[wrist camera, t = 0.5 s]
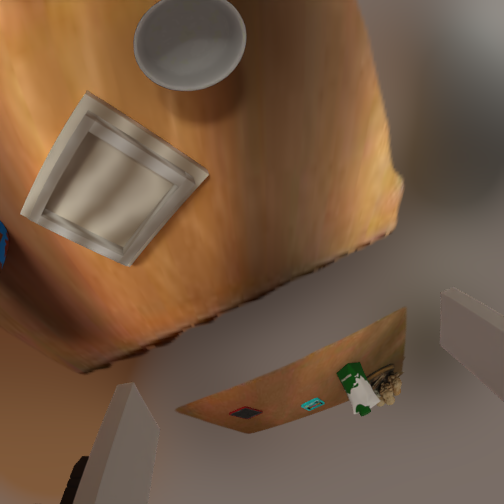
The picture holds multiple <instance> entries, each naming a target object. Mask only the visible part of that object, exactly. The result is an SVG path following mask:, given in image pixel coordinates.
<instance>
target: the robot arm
mask: <svg viewBox="0 0 504 504" xmlns="http://www.w3.org/2000/svg"><path fill="white" fill-rule="evenodd" d="M440 346H441V347H443V348H444V349H445V350H446V351H447V352H448V353H450V354H451V355H452V356H453V357H454V358H456V359H457V360H458V361H459V362H460V363H461V364H462V365H463V366H465V367H466V368H467V369H468V370H469V371H470V372H471V373H472V374H473V375H475V376H476V377H477V378H478V379H479V380H480V381H481V382H482V383H484V384H485V385H486V386H487V387H488V388H489V389H490V390H491V391H492V392H494V394H496V395H497V396H498V397H499V398H500V399H501V400H502V401H503V402H504V316H503V315H502V314H500V313H498V312H497V311H495V310H493V309H492V308H490V307H488V306H486V305H485V304H483V303H481V302H479V301H478V300H476V299H474V298H472V297H471V296H469V295H467V294H466V293H464V292H462V291H460V290H458V289H456V288H455V287H452V288H449V289H447V290H445V291H443V292H441V327H440ZM159 433H160V428H159V426H158V425H157V423H156V421H155V420H154V418H153V416H152V414H151V413H150V411H149V409H148V408H147V406H146V404H145V402H144V401H143V399H142V397H141V395H140V393H139V391H138V389H137V388H136V386H135V384H134V382H132V383H126V384H120V385H117V387H116V390H115V392H114V395H113V397H112V400H111V402H110V404H109V407H108V409H107V412H106V414H105V417H104V419H103V422H102V424H101V427H100V429H99V432H98V435H97V437H96V440H95V442H94V445H93V448H92V450H91V453H90V456H82V457H81V459H80V460H79V461H78V462H77V463H76V464H75V466H74V468H73V470H72V473H71V475H70V479H69V481H68V483H67V488H66V489H65V491H64V494H63V497H62V500H61V502H60V504H148V499H149V493H150V486H151V480H152V474H153V468H154V462H155V456H156V450H157V445H158V439H159Z"/></svg>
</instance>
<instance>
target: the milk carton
mask: <svg viewBox="0 0 504 504" xmlns="http://www.w3.org/2000/svg"><path fill="white" fill-rule="evenodd" d="M336 374H337V375H338V377H339V379H340V381H341V383H342V385H343V387H344V389H345V391H346V393H347V395H348V398H349V400H350V402H351V404H352V408H353V412H354V414H357V413H360V415H361V416H364V415H366V414H368V413H370V412H371V410H370V408H372V407H373V406H374V405H376V404H377V403H379V402H380V400H379V398H378V397H377V396H376V394H375V393H374V391H373V390H372V388H371V386H370V384H369V382H368V380H367V378H366V376H365V374H364V371H363V369H362V366H361V364H360V362H358V363H348V364H347V365H346V366H344V367H343V368H342V369H341V370H340V371H339V372H338V373H336Z"/></svg>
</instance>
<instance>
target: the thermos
mask: <svg viewBox="0 0 504 504" xmlns="http://www.w3.org/2000/svg"><path fill="white" fill-rule="evenodd" d="M8 248H9V236H8V233H7V230H6V228H5V226H4V225H3V224H2V222H1V221H0V273H1V270H2V267H3V264H4V261H5V258H6V254H7V251H8Z"/></svg>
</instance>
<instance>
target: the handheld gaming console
mask: <svg viewBox="0 0 504 504" xmlns="http://www.w3.org/2000/svg"><path fill="white" fill-rule="evenodd" d="M317 403H321V404H320V405H318V406H315V404H317ZM323 404H325V403H324V402H323V401H322V400H320V399H319V398H315V399H312V400H310V401H308V402H306V403H304V404H302V405H301V407H303V408H305V409H307V410H308V411H310V410H313V409H315V408H317V407H319V406H321V405H323ZM313 405H314V406H315V407H313V408H311V409H309V408H308V407H311V406H313Z"/></svg>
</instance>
